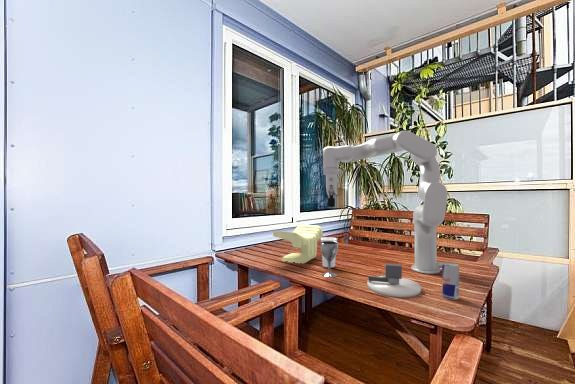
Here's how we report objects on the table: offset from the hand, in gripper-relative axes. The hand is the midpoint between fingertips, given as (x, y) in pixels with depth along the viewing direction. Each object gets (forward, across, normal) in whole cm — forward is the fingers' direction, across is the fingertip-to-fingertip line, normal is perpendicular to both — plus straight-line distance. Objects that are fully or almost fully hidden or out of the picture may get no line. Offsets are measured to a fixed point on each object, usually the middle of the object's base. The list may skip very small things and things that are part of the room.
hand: (331, 206), depth 139 cm
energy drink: (+31, -34, -42) cm, 62 cm away
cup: (+31, +2, +1) cm, 31 cm away
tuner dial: (+31, -26, -24) cm, 47 cm away
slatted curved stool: (+31, +14, +17) cm, 38 cm away
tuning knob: (+29, -25, -20) cm, 43 cm away
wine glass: (+31, -12, +1) cm, 33 cm away
